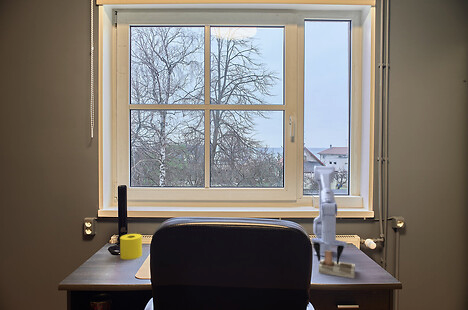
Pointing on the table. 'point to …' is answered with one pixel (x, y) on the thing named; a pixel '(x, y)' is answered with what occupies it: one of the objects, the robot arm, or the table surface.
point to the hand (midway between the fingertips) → (328, 261)
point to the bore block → (337, 269)
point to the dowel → (328, 258)
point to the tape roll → (130, 246)
